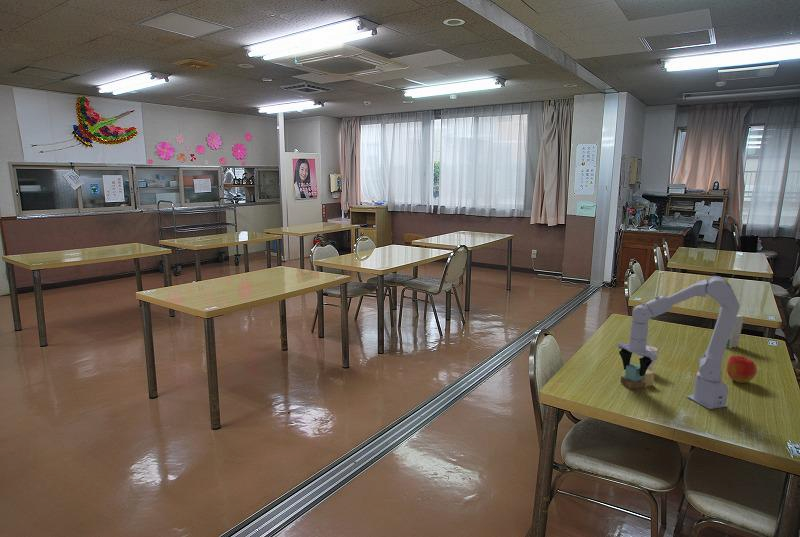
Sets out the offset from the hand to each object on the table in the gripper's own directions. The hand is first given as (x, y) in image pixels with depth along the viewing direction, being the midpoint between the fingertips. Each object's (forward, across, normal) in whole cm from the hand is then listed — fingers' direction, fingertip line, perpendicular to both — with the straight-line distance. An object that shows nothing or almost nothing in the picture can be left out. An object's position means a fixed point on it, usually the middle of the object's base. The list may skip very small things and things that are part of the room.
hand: (634, 372), depth 175 cm
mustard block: (+6, -1, -6) cm, 8 cm away
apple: (+6, -17, -41) cm, 45 cm away
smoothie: (+6, +6, -18) cm, 20 cm away
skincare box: (+6, +7, -81) cm, 82 cm away
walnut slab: (+6, 0, 0) cm, 6 cm away
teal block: (+3, 0, 0) cm, 3 cm away
